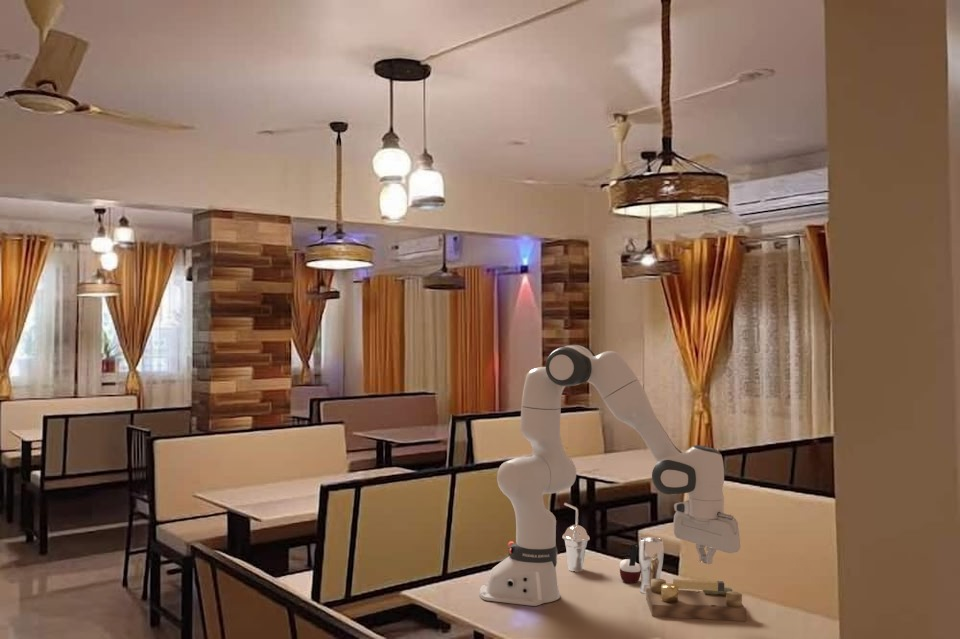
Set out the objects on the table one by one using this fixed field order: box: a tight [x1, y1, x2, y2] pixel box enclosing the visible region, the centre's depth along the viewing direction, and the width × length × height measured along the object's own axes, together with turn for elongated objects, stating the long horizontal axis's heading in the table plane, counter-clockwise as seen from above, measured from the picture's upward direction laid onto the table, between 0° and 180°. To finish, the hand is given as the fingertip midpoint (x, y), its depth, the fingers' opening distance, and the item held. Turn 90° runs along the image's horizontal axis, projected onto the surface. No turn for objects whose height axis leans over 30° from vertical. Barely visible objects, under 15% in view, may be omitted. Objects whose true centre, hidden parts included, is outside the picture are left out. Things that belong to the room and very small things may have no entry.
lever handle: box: [661, 578, 725, 602], centre depth 218 cm, size 16×4×5 cm, turn 85°
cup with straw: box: [562, 502, 590, 573], centre depth 257 cm, size 8×9×20 cm
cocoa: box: [619, 544, 641, 584], centre depth 245 cm, size 10×6×12 cm, turn 162°
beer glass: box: [638, 536, 665, 595], centre depth 236 cm, size 7×7×15 cm
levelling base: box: [645, 578, 747, 622], centre depth 221 cm, size 24×14×6 cm, turn 85°
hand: (705, 562), depth 212 cm, fingers closed
